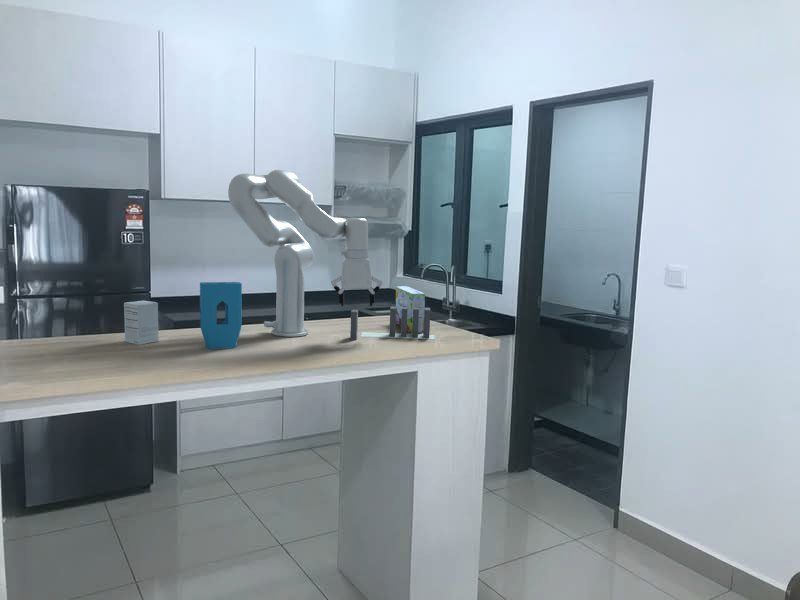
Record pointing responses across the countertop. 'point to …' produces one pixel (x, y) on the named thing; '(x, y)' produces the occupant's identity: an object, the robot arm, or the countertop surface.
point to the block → (209, 299)
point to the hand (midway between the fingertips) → (356, 305)
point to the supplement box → (141, 322)
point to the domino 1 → (354, 324)
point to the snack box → (410, 305)
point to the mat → (386, 335)
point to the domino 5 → (426, 323)
